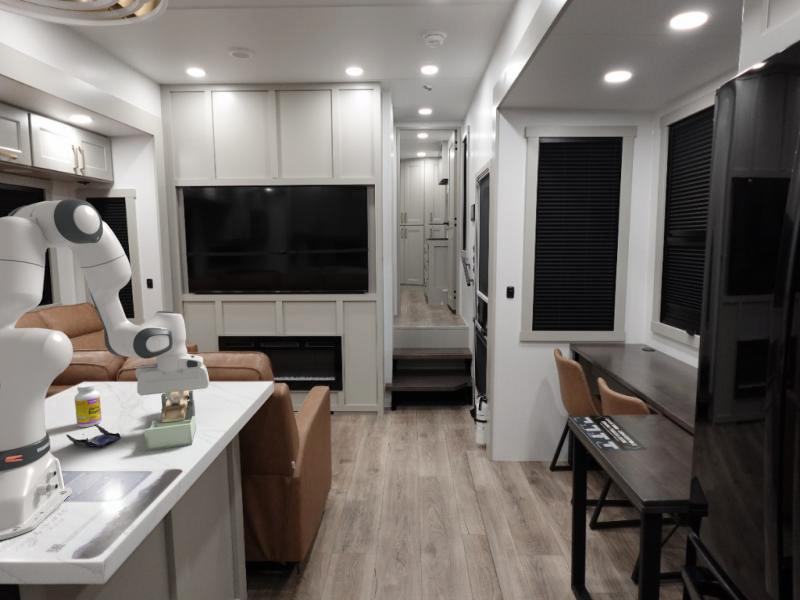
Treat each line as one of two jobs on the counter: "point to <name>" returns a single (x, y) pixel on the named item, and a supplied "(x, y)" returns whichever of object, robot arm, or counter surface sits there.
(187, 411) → the fulcrum
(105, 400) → the counter surface
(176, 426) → the dish
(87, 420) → the supplement bottle
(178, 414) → the lever
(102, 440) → the snack package
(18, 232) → the robot arm
